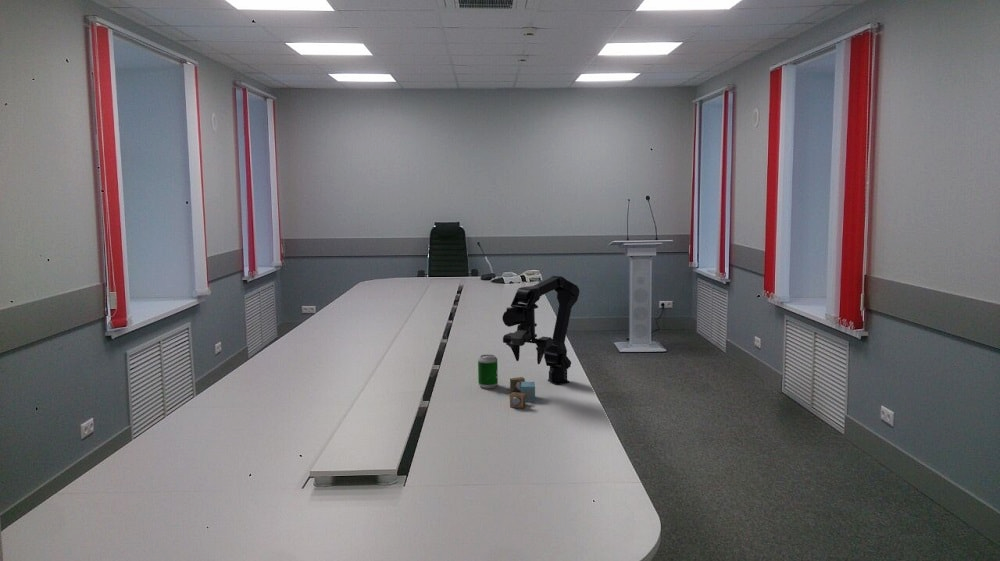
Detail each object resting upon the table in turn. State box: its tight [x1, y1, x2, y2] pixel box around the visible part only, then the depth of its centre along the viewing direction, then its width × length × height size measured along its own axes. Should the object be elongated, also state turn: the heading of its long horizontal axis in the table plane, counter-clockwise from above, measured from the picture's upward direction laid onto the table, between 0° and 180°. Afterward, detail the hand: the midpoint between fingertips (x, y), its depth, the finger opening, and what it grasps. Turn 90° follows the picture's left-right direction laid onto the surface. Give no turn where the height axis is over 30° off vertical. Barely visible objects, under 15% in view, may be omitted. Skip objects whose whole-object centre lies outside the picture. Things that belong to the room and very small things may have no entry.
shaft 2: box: [509, 392, 527, 410], centre depth 229 cm, size 7×5×5 cm
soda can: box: [477, 354, 499, 389], centre depth 252 cm, size 8×8×12 cm
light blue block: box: [520, 381, 536, 402], centre depth 237 cm, size 6×5×6 cm
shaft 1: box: [509, 376, 526, 393], centre depth 245 cm, size 7×5×5 cm
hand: (528, 362), depth 242 cm, fingers open, 9 cm apart
